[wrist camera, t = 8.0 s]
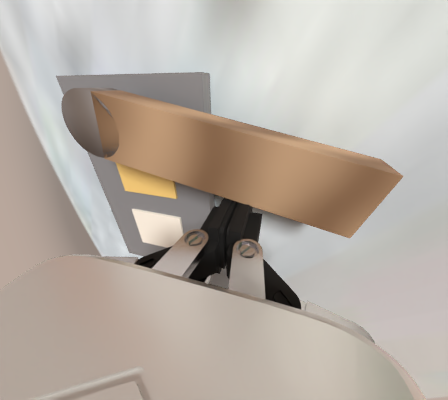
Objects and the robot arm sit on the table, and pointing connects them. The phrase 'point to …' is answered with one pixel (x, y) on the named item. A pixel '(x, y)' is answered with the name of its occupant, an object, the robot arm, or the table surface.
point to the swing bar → (231, 158)
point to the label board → (145, 182)
